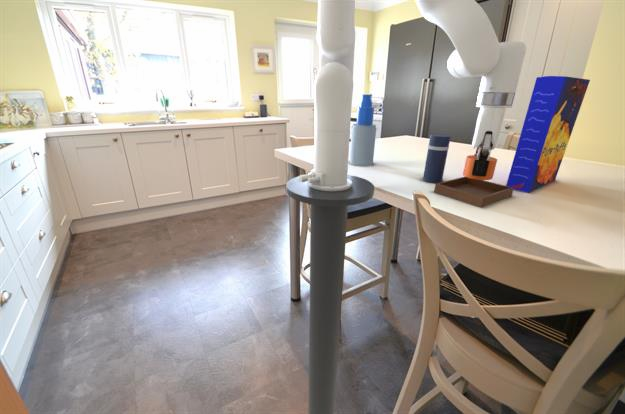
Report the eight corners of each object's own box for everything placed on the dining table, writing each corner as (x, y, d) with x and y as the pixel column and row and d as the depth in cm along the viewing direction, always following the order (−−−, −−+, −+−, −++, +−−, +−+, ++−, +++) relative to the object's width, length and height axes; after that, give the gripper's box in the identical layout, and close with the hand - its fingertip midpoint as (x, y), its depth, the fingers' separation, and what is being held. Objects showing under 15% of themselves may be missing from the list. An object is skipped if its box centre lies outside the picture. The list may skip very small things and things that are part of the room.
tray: (481, 207, 69) (483, 197, 68) (433, 192, 79) (435, 183, 78) (511, 196, 76) (514, 187, 75) (464, 183, 87) (466, 176, 86)
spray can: (434, 184, 86) (443, 137, 81) (418, 179, 90) (426, 134, 85) (445, 181, 89) (454, 136, 83) (430, 177, 93) (437, 133, 88)
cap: (483, 181, 71) (488, 162, 69) (457, 175, 77) (461, 156, 75) (497, 177, 75) (502, 158, 73) (471, 171, 80) (475, 154, 78)
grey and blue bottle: (376, 162, 111) (383, 94, 102) (367, 167, 104) (374, 94, 95) (355, 159, 116) (360, 94, 106) (345, 163, 109) (350, 93, 99)
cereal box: (528, 192, 79) (566, 75, 68) (505, 187, 84) (537, 76, 73) (554, 180, 91) (590, 78, 80) (533, 176, 96) (564, 79, 85)
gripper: (476, 100, 77) (463, 164, 84) (477, 101, 63) (461, 178, 70) (508, 100, 74) (492, 166, 81) (518, 102, 60) (497, 182, 66)
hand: (478, 171), depth 75 cm, fingers closed on cap, 7 cm apart
